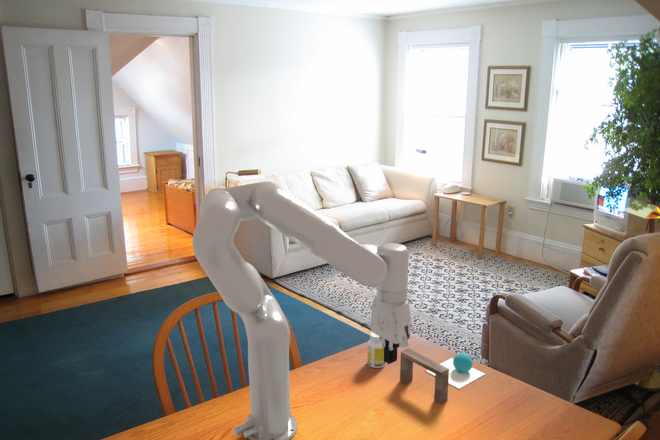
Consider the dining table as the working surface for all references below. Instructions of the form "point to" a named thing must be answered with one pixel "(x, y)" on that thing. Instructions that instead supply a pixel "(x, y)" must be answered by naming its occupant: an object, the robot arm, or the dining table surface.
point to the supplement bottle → (375, 351)
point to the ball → (462, 362)
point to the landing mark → (459, 375)
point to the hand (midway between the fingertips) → (390, 361)
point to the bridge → (439, 370)
